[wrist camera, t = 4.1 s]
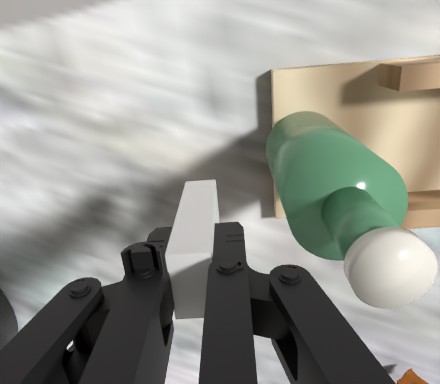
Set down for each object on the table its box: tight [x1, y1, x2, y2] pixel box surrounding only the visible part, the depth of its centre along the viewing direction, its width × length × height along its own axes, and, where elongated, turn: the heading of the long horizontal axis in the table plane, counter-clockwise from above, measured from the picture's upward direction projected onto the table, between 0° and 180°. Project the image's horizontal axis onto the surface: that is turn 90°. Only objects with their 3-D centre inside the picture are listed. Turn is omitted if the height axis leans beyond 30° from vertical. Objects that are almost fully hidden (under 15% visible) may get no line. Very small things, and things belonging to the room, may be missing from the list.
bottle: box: [265, 111, 438, 308], centre depth 18 cm, size 5×5×15 cm
